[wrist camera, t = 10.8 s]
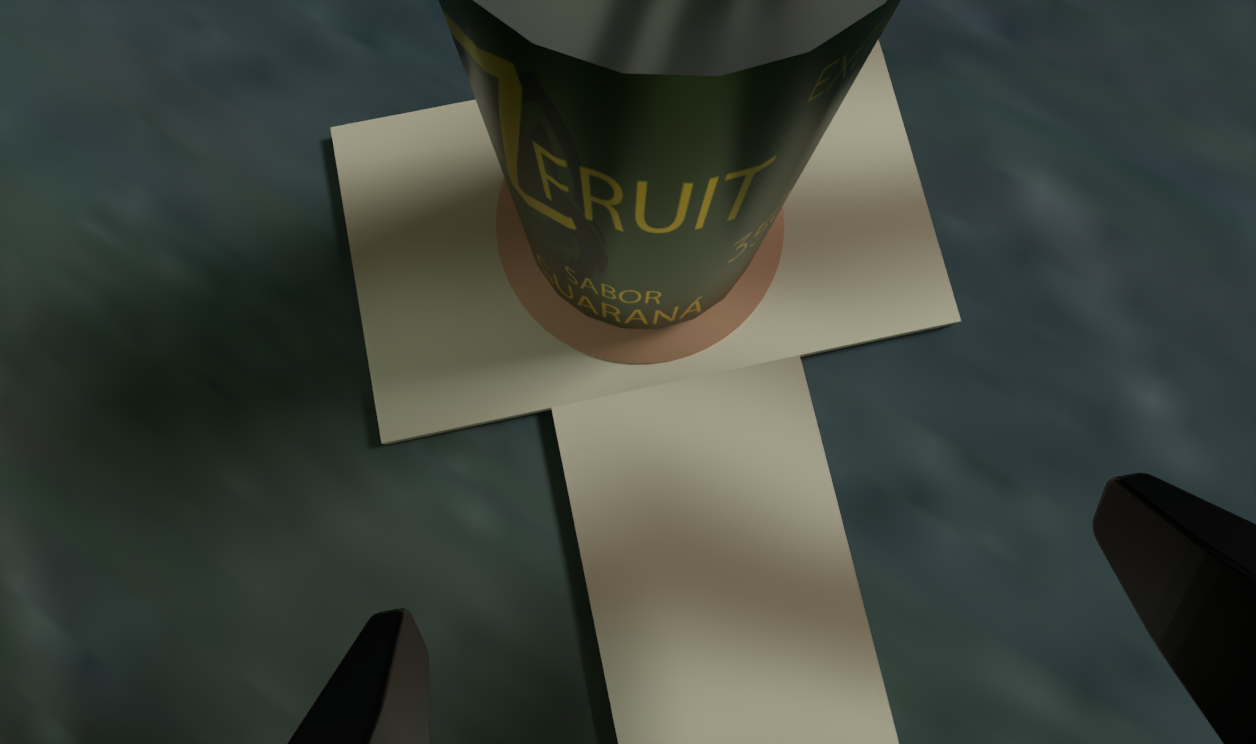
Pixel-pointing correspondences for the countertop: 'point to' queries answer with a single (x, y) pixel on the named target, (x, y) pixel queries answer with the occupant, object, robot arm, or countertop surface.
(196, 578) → the countertop surface
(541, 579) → the countertop surface
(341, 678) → the robot arm
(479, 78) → the beer can
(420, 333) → the t plate
